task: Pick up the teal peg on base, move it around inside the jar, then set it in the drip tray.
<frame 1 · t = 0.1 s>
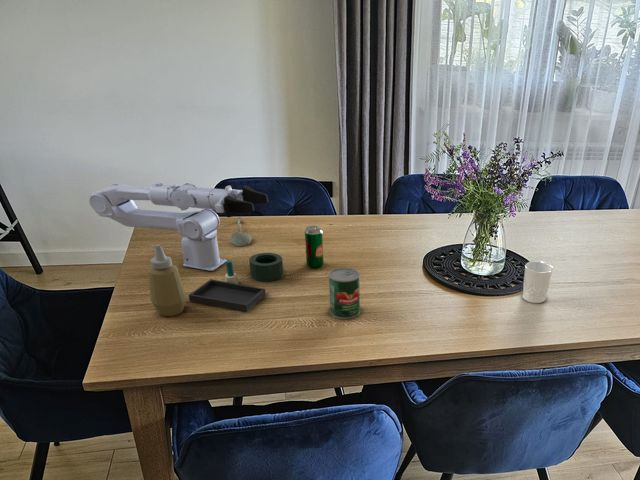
hand: (260, 203, 165), 22 cm above the table, tool horizontal, fingers open, 7 cm apart
squeeze bottle: (171, 311, 155), on the table
jar: (267, 274, 177), on the table
drip tray: (228, 298, 163), on the table
soda can: (315, 266, 185), on the table
canned tomato: (345, 312, 162), on the table
teal peg on base: (232, 284, 170), on the table
soupspoon: (240, 234, 201), on the table
white cup: (533, 298, 179), on the table
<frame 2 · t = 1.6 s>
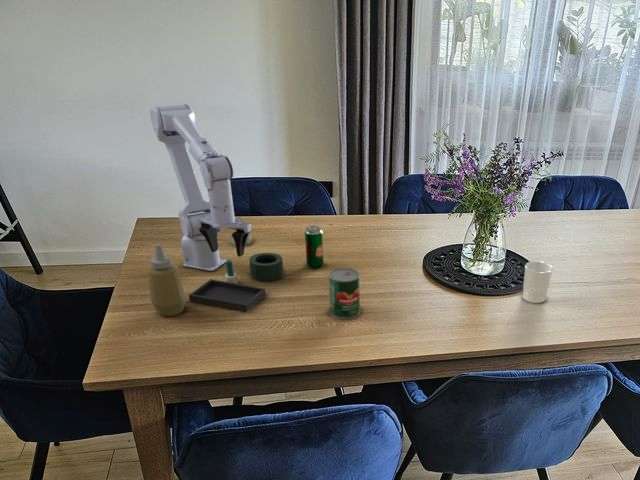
hand: (227, 253, 165), 9 cm above the table, tool pointing down, fingers open, 7 cm apart
nothing on the table moved.
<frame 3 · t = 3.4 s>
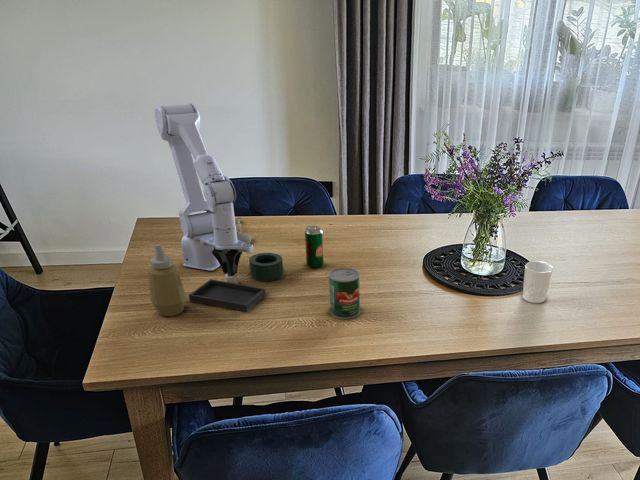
hand: (230, 273, 168), 3 cm above the table, tool pointing down, fingers closed on teal peg on base
teal peg on base: (232, 284, 170), on the table, touching gripper
everything else where it was.
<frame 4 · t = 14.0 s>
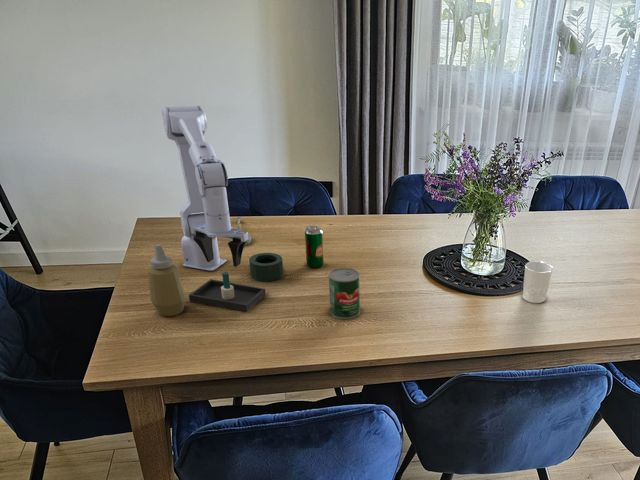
hand: (223, 262, 158), 10 cm above the table, tool pointing down, fingers open, 7 cm apart
teal peg on base: (228, 296, 163), resting on drip tray
everything else where it was.
at the end: teal peg on base inside the target area in the drip tray (0.0 cm from its centre), point 0.5 cm above the drip tray's base; teal peg on base tilted 0°; teal peg on base touching drip tray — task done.
